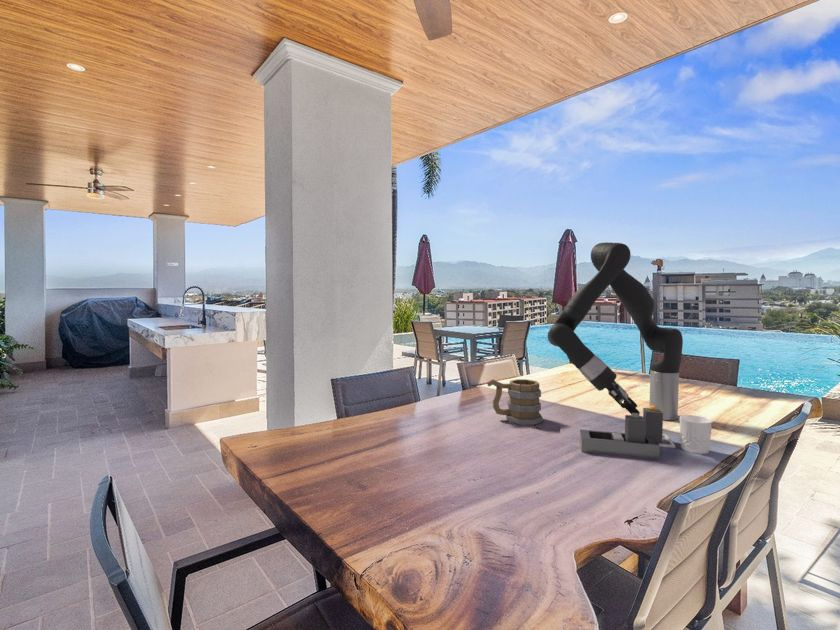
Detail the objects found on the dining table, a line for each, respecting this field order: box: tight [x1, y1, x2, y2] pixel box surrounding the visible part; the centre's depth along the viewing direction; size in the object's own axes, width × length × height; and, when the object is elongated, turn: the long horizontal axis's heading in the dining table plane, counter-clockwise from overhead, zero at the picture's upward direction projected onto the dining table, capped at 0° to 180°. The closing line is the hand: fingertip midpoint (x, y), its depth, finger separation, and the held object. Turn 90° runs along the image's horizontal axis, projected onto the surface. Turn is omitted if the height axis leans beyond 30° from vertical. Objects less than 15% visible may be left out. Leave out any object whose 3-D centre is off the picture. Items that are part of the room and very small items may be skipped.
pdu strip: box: [579, 429, 661, 461], centre depth 123 cm, size 8×20×5 cm, turn 73°
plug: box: [642, 406, 664, 444], centre depth 130 cm, size 4×4×11 cm
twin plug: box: [624, 413, 646, 443], centre depth 121 cm, size 4×4×11 cm
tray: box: [658, 433, 676, 449], centre depth 131 cm, size 10×10×2 cm
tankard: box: [486, 378, 544, 426], centre depth 155 cm, size 20×13×15 cm, turn 84°
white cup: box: [679, 414, 713, 455], centre depth 123 cm, size 8×8×10 cm
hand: (636, 411), depth 132 cm, fingers open, 8 cm apart
